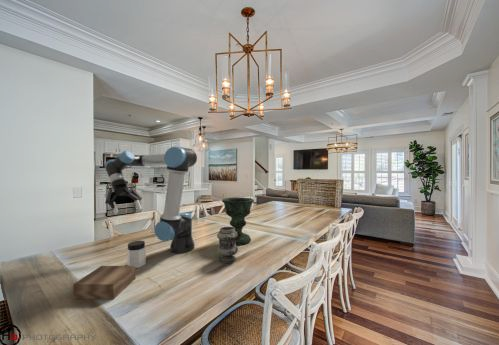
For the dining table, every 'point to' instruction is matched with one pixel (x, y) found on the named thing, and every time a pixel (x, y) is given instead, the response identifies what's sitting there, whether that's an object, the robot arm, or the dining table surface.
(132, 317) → the dining table surface
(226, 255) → the apothecary jar
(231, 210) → the goblet
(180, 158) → the robot arm
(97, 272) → the walnut block
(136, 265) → the jar
